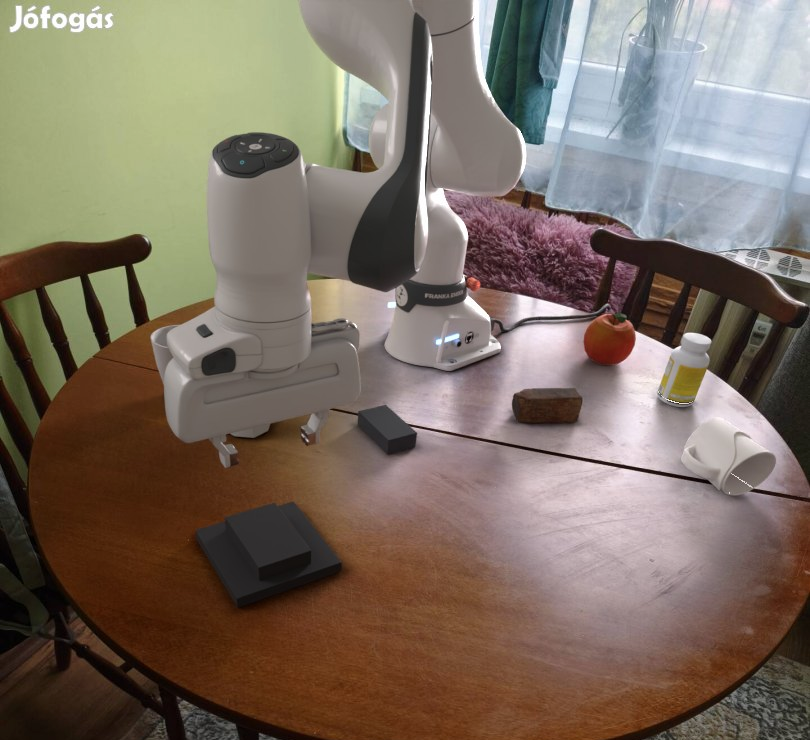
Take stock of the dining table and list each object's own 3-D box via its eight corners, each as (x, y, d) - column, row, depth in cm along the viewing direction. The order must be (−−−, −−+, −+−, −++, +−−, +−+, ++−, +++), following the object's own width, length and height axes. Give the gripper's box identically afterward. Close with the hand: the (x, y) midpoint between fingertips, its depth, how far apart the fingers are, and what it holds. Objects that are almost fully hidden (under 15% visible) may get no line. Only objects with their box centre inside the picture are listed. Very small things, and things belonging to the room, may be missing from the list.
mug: (718, 457, 110) (738, 413, 105) (762, 490, 104) (786, 446, 99) (659, 469, 106) (677, 424, 101) (701, 505, 100) (723, 459, 94)
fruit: (620, 351, 138) (635, 301, 131) (633, 373, 131) (650, 322, 124) (573, 347, 137) (586, 297, 131) (584, 369, 130) (599, 318, 123)
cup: (200, 413, 106) (193, 352, 99) (150, 403, 107) (140, 342, 100) (221, 388, 112) (216, 330, 106) (174, 380, 113) (166, 321, 106)
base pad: (293, 510, 90) (293, 501, 89) (341, 571, 82) (341, 562, 81) (196, 539, 84) (195, 529, 83) (237, 608, 76) (236, 598, 75)
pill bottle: (699, 408, 122) (725, 346, 115) (666, 409, 121) (690, 347, 113) (681, 390, 127) (704, 330, 120) (649, 391, 126) (671, 330, 118)
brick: (569, 411, 117) (575, 386, 114) (577, 423, 114) (584, 398, 111) (509, 412, 115) (514, 386, 112) (516, 424, 112) (521, 398, 109)
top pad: (384, 418, 110) (385, 404, 108) (415, 446, 104) (417, 432, 103) (357, 425, 108) (358, 411, 106) (387, 454, 102) (388, 440, 100)
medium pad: (275, 514, 87) (274, 502, 85) (311, 563, 81) (311, 550, 79) (225, 529, 84) (224, 516, 82) (259, 580, 78) (258, 567, 76)
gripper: (344, 303, 73) (341, 417, 82) (148, 336, 63) (169, 460, 72) (375, 328, 69) (368, 444, 78) (171, 366, 60) (190, 493, 69)
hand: (271, 452), depth 75 cm, fingers open, 8 cm apart
